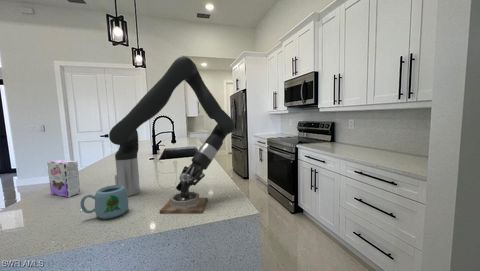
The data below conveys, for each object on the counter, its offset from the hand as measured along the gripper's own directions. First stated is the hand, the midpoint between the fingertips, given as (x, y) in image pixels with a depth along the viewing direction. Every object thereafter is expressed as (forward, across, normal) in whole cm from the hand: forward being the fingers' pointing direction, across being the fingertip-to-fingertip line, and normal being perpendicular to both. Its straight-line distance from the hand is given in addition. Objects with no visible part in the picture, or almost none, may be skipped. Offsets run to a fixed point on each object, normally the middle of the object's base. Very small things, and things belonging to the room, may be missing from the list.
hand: (180, 191), depth 83 cm
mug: (+21, -15, -11) cm, 28 cm away
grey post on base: (+2, 0, +5) cm, 5 cm away
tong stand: (+4, 0, +6) cm, 7 cm away
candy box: (+28, -56, -18) cm, 65 cm away
